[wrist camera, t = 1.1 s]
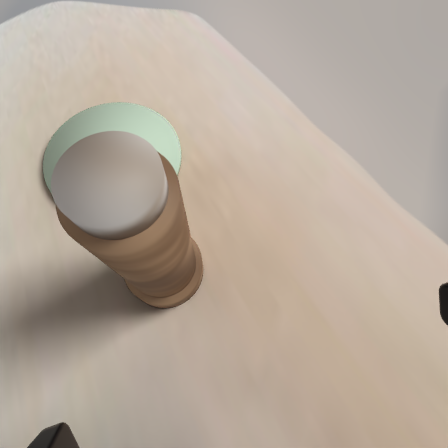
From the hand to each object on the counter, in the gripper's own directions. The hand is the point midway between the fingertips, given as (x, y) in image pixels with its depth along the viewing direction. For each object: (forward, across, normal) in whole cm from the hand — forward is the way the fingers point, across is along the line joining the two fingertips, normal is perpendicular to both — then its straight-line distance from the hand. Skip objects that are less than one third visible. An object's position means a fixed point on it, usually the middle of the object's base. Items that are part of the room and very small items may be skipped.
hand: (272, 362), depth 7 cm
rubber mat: (+22, +5, -5) cm, 23 cm away
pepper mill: (+16, +3, +3) cm, 16 cm away
